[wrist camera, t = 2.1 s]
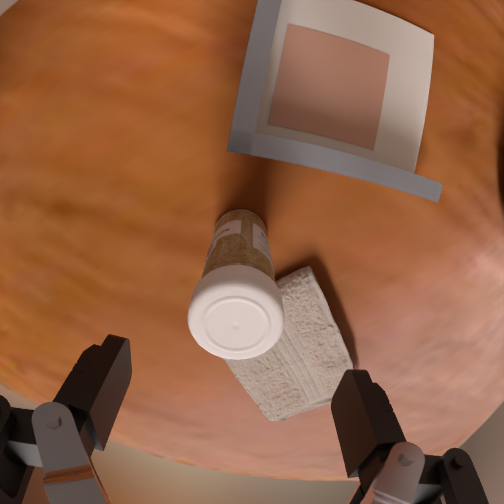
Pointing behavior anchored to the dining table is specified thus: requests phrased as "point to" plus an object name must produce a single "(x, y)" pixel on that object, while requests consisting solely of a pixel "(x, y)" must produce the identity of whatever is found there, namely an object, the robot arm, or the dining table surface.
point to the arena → (336, 91)
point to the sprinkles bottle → (237, 291)
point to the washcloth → (297, 354)
